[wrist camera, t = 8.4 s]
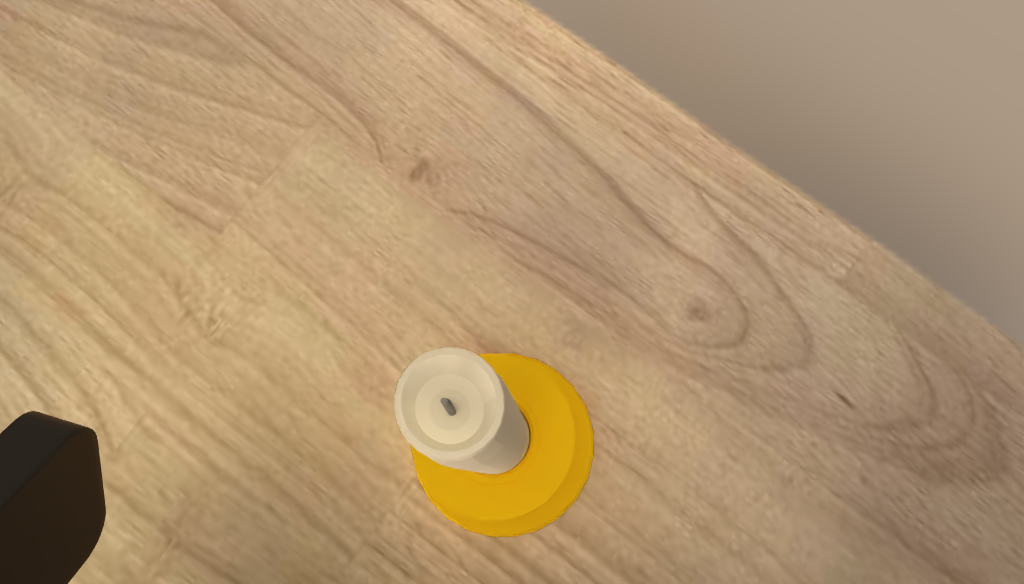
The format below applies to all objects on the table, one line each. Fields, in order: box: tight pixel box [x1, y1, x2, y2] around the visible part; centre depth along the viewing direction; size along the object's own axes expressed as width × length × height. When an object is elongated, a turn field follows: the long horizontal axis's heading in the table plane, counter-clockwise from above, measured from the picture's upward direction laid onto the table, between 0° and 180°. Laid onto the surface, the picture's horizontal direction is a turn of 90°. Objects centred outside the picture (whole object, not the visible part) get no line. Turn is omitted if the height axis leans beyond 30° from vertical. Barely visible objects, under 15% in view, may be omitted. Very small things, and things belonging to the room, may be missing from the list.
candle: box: [394, 347, 594, 537], centre depth 19 cm, size 5×5×16 cm
